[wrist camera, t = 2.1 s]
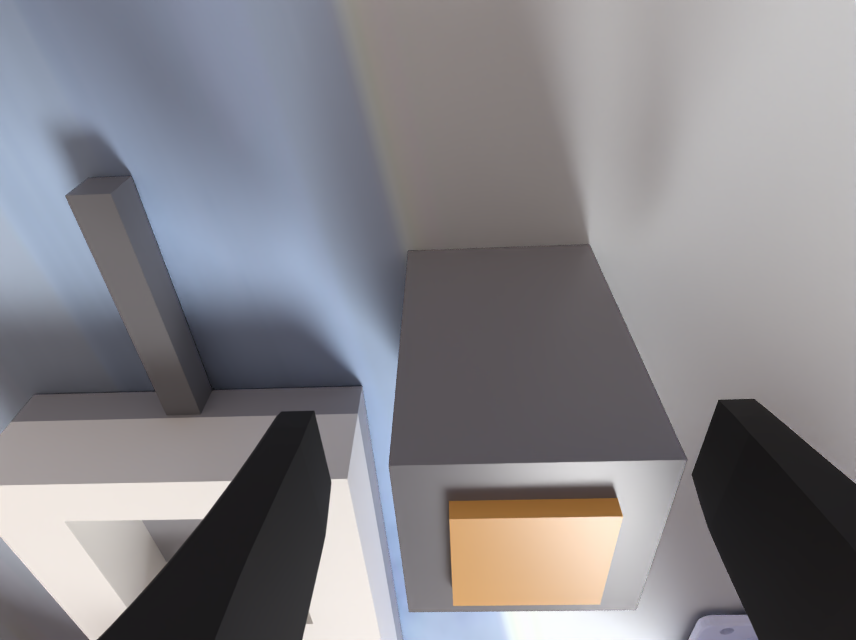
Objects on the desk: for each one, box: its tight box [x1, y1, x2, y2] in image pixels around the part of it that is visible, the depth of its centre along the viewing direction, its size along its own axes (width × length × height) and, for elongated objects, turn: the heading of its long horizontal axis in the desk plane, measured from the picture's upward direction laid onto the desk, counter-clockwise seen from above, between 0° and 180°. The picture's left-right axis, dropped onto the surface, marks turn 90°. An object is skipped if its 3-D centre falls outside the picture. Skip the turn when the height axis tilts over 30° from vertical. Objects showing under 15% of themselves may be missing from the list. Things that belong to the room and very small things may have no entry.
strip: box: [0, 176, 403, 640], centre depth 15 cm, size 22×9×7 cm, turn 3°
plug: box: [389, 244, 687, 612], centre depth 11 cm, size 4×4×6 cm
